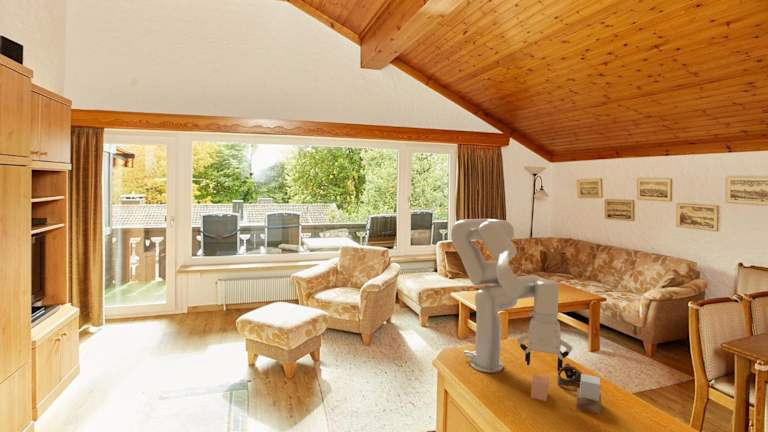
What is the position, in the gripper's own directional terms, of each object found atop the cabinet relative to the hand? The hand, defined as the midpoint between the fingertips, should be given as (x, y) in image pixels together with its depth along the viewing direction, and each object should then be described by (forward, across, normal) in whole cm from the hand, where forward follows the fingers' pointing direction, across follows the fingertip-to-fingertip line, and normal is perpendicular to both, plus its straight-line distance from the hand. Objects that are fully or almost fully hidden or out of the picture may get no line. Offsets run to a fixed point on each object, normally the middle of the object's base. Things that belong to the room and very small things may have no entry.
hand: (543, 366), depth 141 cm
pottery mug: (+11, +8, +14) cm, 20 cm away
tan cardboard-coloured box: (+11, +14, +2) cm, 18 cm away
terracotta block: (+11, -1, +1) cm, 11 cm away
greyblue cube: (+7, +14, +2) cm, 16 cm away
